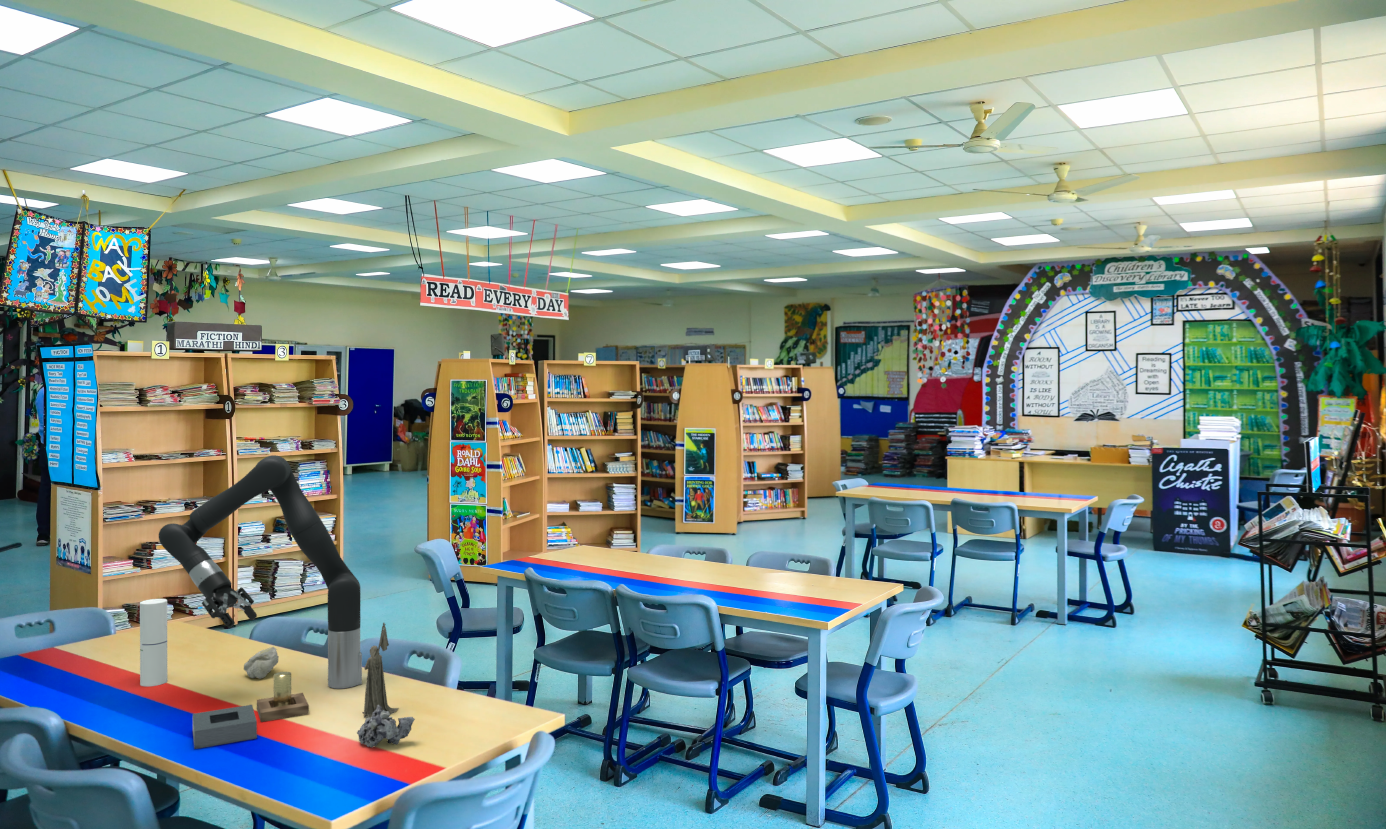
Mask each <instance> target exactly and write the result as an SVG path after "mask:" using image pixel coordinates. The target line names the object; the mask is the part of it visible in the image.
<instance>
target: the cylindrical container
mask: <svg viewBox="0 0 1386 829" xmlns="http://www.w3.org/2000/svg"><path fill="white" fill-rule="evenodd" d="M139 661H140V662H139V675H140V676H139V680H140V682H139V685H140V686H141V687H155V686H160V685H164V684H166V683H168V599H166V598H151V599H146V600H145V599H144V600H143V601H140V602H139Z"/></svg>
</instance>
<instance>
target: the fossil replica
mask: <svg viewBox="0 0 1386 829" xmlns="http://www.w3.org/2000/svg"><path fill="white" fill-rule="evenodd" d="M277 651H278V649H277V648H276V647H274V646H270V647H268V648H265V649H261V650H260V651H258V652H256V653H255V654H254V655H252V656H251V657H250V658H249V659H248V660H247V661H246V662H245V663H244V665H243V670H244V671H245V673H246V675H247V676H248V677H249V678H250V679H256V678H257V679H260V680H261V679H263V678H265V677H266V676H267V675H268V673H271V671H272V670H273V669H274V667H275V666H277V664H278V663H279V654H278V652H277Z"/></svg>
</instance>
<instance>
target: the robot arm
mask: <svg viewBox="0 0 1386 829" xmlns="http://www.w3.org/2000/svg"><path fill="white" fill-rule="evenodd" d="M268 491H270V492H271V493H272V495H273V496H274V497H275V499H276V501H277V502H278V504H279V506H280V509H281V512H282V515H283V518H284V521H285V523H286V526H287V528H288V531H289V533H290V535H291V536H292V538H293V540H294V541H295V543H296V544H297V546H298V548H299V550H301V552H302V553H303V554H304V556H306V558H307V559H308V560H309V561H310V562H311V563H312V564H313V565H314V566H315V567H316V568H317V570H318V572H319V573H320V576H321V577H322V580H323V581H324V583H325V586H326V588H327V632H328V633H327V686H328V687H329V688H331V689H347V688H348V689H349V688H354V687H356V686H359V685H362V683H363V677H362V676H363V654H362V652H361V618H362V617H361V583H360V581H359V580H358V578H357V577H356V576H355V574H354V573H353V572H352V571H351V570H350V568H349V566H348V565H346V562H345V561H344V560H343V559H342V557H341V555H340V553H339V551H338V549H337V547H336V545H335V542H334V541H333V538H332V537H331V534H330V533H329V531H328V529H327V527H326V526H325V524H324V522H323V521H322V519H321V517H320V516H319V514H318V513H317V511H316V510H315V508H314V507H313V505H312V504H311V502H310V501H309V499H308V498H307V496H306V495H305V494H304V493H303V491H302V489H301V487H300V485H299V483H298V481H297V479H296V476H295V474H294V472H293V469H292V467H291V465H290V463H289V462H288V461H287V459H285V458H284V457H282V456H280V455H275V454H274V455H273V454H272V455H268V456H265V457H264V458H262V459H260V460H259V461H258V462H257V463H256V465H255V466H254V467H253V468H251V470H250V471H249V472H248V473H247V474H245V476H243V477H242V478H240V480H238V481H237V482H235V484H233V485H232V486H230V487H228V488H227V489H225V490H224V491H222V492H220V493H218V494H217V495H215V496H213V497H212V498H210V499H208V500H207V501H205V502H204V503H203V504H201V505H200V506H198V507H197V508H195V509H194V510H192V512H191V513H190V514H189V519H188V520H187V521H186V522H185V523H183V524H178V523H168V524H165V525H164V526H162V527H161V528H160V530H159V531H158V541H159V543H160V545H161V546H162V548H163V549H164V550H165V551H166V552H167V553H168V554H170V555H171V556H172V557H173V558H174V559H175V560H176V561H177V562H179V563H180V565H181V567H182V568H183V569H184V570H185V572H186V574H188V575H189V577H190V579H191V580H192V582H193V583H194V585H195V586H196V588H197V589H198V590H199V591H200V592H201V594H202V595H203V597H204V598H205V599H204V600H203V601H202V602H201V604H202V606H203V608H204V609H205V611H206V612H207V613H208V615H209V616H210V617H211V618H212V619H215V618H217V619H220V620H221V621H222V622H223V624H224V625H225V626H226V627H227V628H228V629H230V628H232V627H233V626H234V625H235V624H236V622H235V620H234V619H233V617H232V616H231V615H230V613H228V612H227V609H228V608H234V609H239V610H240V611H241V610H242V611H243V613H244V615H246V617H247V618H248V620H250V621H251V622H252V621H254V620H255V619H256V618H257V617H258V615H257V612H256V611H255V610H254V609H253V608H252V605H253V604H254V603H255V601H254V599H253V598H252V597H251V596H250V594H249V593H248V592H247V591H246V590H245V589H244V588H243V587H239V588H238V589H237V590H235V589H233V586H232V581H231V579H229V578H228V576H227V575H226V574H225V572H224V570H222V569H221V568H220V565H218V564H217V563H216V562H215V561H214V560H213V559H212V557H211V556H210V555H209V553H208V552H207V551H206V550H205V549H204V548H202V547H201V546H199V545H197V544H196V543H197V542H198V541H200V539H202V538H203V537H204V536H205V534H206V533H207V532H208V531H209V530H211V529H212V528H214V527H215V526H217V525H218V524H219V523H221V522H222V521H224V520H225V519H227V518H228V517H229V516H231V515H232V514H233V513H234V512H237V510H239V509H240V507H242V506H244V505H245V504H246V503H248V502H249V501H251V500H252V499H254V498H256V497H258V496H260V495H262V494H264V493H265V492H268Z"/></svg>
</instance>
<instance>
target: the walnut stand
mask: <svg viewBox="0 0 1386 829" xmlns="http://www.w3.org/2000/svg"><path fill="white" fill-rule="evenodd" d="M309 707H310V705H309V703H308V701H307V699H306V697H305V694H304V692H298V693H291V705H287V706H281V707H274V696H272V697H266V698H258V699H256V711H257V713H258V717H259V721H260V723H263V722H269V721H276V720H282V719H287V718H294V717H300V716H305V715H309V713H310V710H309V709H310V708H309Z"/></svg>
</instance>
